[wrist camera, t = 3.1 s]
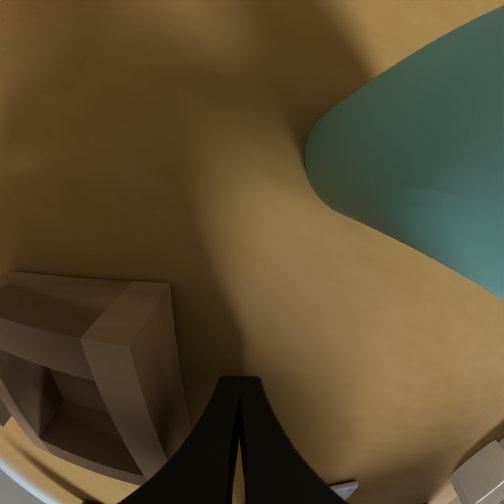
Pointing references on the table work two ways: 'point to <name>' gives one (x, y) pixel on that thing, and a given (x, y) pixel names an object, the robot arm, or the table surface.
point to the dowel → (425, 152)
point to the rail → (4, 413)
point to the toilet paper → (480, 474)
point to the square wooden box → (93, 371)
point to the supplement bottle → (89, 502)
